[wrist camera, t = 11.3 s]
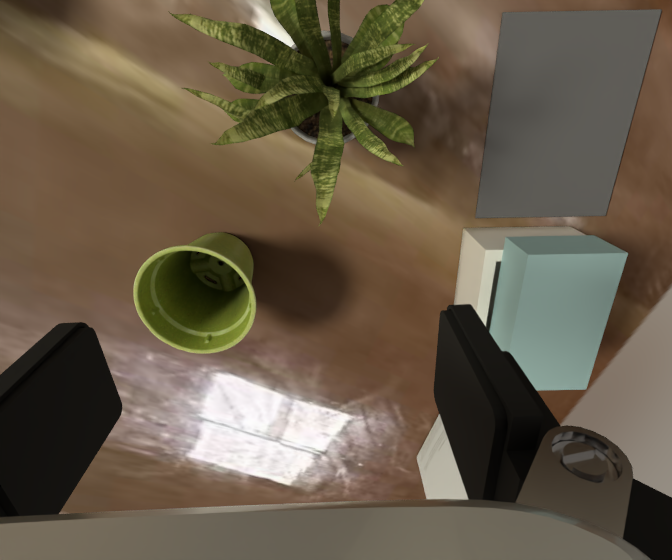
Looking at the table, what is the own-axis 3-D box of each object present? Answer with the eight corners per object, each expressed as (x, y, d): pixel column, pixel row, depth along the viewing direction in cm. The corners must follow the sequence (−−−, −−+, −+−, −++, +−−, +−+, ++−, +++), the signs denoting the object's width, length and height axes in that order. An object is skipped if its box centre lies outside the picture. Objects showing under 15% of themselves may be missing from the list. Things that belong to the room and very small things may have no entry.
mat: (502, 13, 30) (503, 12, 30) (659, 9, 30) (661, 9, 30) (475, 217, 37) (475, 218, 37) (604, 215, 37) (605, 215, 37)
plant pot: (289, 248, 38) (278, 287, 30) (243, 319, 41) (222, 372, 33) (200, 195, 36) (162, 222, 28) (158, 274, 39) (114, 319, 31)
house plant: (324, -85, 28) (315, -297, 13) (457, 62, 32) (568, 29, 17) (211, 86, 32) (106, 75, 17) (339, 197, 36) (344, 266, 21)
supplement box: (413, 457, 50) (444, 593, 36) (442, 404, 46) (488, 532, 32) (479, 472, 51) (533, 608, 37) (512, 421, 47) (585, 551, 34)
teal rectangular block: (505, 236, 31) (528, 254, 28) (593, 235, 31) (628, 253, 28) (484, 361, 36) (501, 390, 33) (560, 360, 36) (586, 389, 33)
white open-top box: (463, 228, 37) (485, 249, 32) (569, 226, 37) (610, 247, 32) (452, 320, 41) (470, 353, 36) (547, 318, 41) (580, 351, 36)
